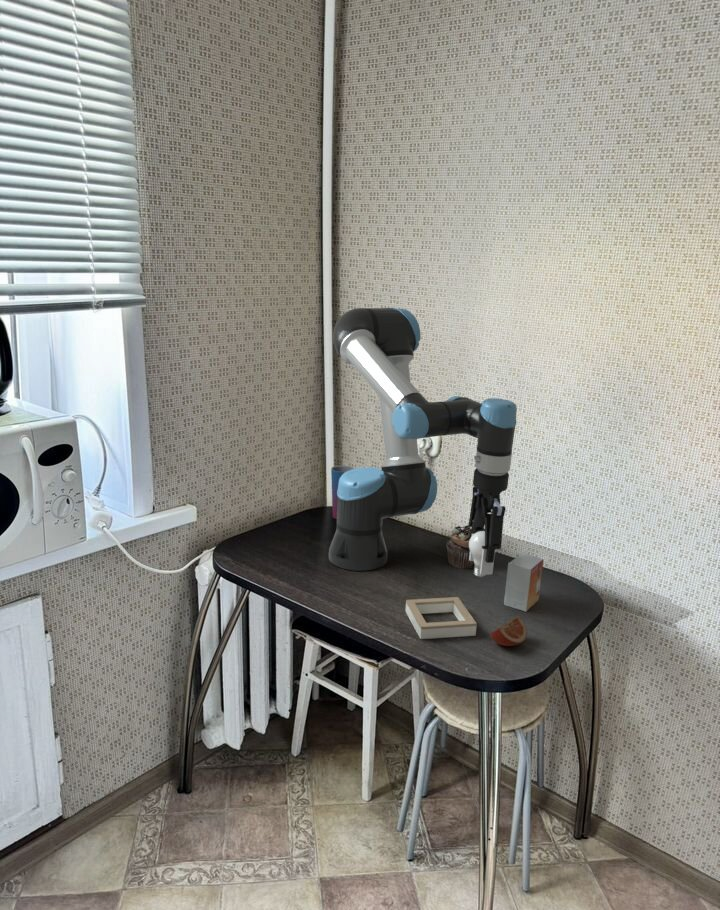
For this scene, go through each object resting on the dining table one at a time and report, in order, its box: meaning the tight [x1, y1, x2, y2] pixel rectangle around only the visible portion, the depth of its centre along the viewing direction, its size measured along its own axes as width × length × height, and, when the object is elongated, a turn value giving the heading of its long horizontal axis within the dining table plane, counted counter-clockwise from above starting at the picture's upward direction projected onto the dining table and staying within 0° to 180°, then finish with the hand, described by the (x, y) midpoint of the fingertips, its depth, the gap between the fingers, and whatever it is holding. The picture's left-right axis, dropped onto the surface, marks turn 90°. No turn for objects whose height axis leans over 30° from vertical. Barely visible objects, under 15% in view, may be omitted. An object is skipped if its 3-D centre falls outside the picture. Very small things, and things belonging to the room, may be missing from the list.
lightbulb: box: [469, 531, 498, 578], centre depth 161 cm, size 6×6×11 cm
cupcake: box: [445, 524, 475, 570], centre depth 184 cm, size 10×10×10 cm
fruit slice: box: [489, 615, 528, 647], centre depth 146 cm, size 8×7×5 cm
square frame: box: [405, 596, 478, 640], centre depth 153 cm, size 12×12×3 cm
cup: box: [330, 465, 355, 520], centre depth 212 cm, size 7×7×15 cm
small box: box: [503, 552, 545, 613], centre depth 163 cm, size 8×6×10 cm
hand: (480, 566), depth 162 cm, fingers closed on lightbulb, 6 cm apart
